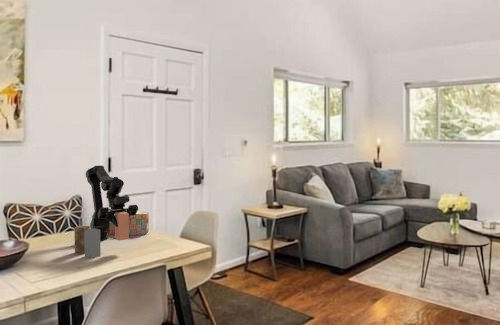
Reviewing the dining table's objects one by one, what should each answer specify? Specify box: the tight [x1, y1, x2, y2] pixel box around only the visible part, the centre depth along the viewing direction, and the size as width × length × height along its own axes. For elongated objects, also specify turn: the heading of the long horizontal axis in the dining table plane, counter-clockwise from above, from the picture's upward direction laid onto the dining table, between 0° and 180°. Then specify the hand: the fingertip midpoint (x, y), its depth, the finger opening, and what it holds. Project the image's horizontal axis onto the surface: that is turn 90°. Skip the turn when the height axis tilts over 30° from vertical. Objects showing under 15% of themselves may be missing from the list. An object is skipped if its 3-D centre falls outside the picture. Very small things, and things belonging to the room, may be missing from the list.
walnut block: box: [74, 225, 90, 255], centre depth 210 cm, size 5×5×12 cm
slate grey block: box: [84, 228, 102, 259], centre depth 203 cm, size 5×5×12 cm
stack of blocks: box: [108, 211, 150, 236], centre depth 252 cm, size 21×6×12 cm, turn 92°
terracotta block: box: [114, 212, 130, 241], centre depth 209 cm, size 5×5×12 cm
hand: (122, 225), depth 208 cm, fingers closed on terracotta block, 5 cm apart
